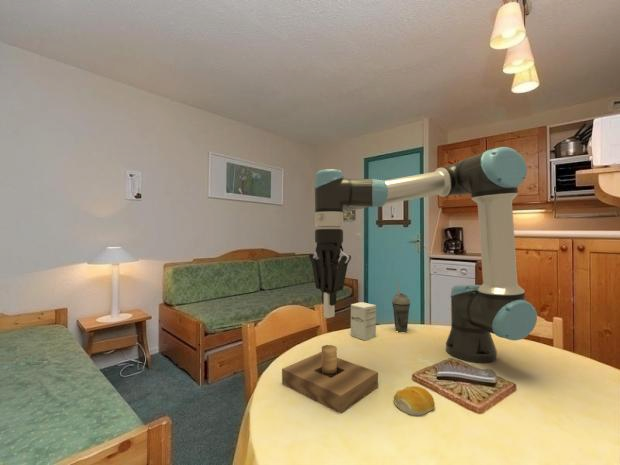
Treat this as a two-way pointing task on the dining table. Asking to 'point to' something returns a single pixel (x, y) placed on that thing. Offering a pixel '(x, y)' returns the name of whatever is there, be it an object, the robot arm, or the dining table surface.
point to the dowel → (329, 360)
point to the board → (330, 382)
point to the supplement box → (363, 320)
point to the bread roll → (414, 400)
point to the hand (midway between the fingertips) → (329, 316)
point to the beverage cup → (401, 311)
